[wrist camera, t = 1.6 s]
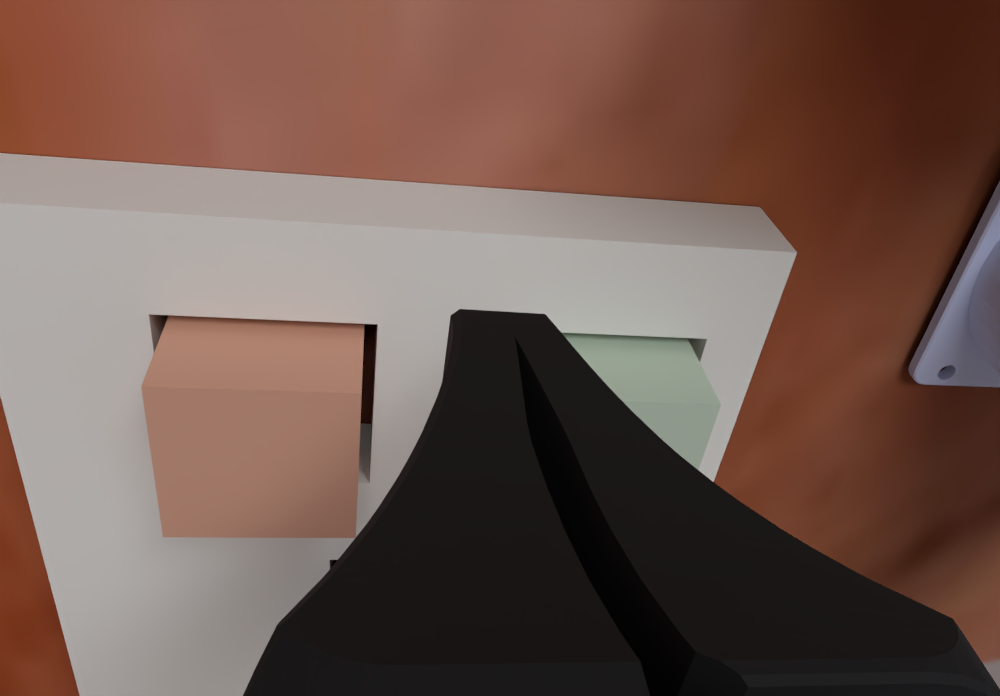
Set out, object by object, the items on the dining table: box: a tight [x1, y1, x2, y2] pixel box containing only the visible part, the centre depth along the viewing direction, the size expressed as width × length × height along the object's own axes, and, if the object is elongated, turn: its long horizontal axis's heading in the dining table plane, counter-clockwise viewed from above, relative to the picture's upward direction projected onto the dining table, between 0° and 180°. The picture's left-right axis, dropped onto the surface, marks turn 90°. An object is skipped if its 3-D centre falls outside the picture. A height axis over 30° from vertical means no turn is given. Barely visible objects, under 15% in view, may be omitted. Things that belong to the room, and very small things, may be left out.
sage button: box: [562, 333, 721, 470], centre depth 21 cm, size 4×4×3 cm
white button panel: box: [0, 153, 797, 696], centre depth 24 cm, size 18×18×2 cm
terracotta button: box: [141, 315, 364, 538], centre depth 20 cm, size 4×4×3 cm
